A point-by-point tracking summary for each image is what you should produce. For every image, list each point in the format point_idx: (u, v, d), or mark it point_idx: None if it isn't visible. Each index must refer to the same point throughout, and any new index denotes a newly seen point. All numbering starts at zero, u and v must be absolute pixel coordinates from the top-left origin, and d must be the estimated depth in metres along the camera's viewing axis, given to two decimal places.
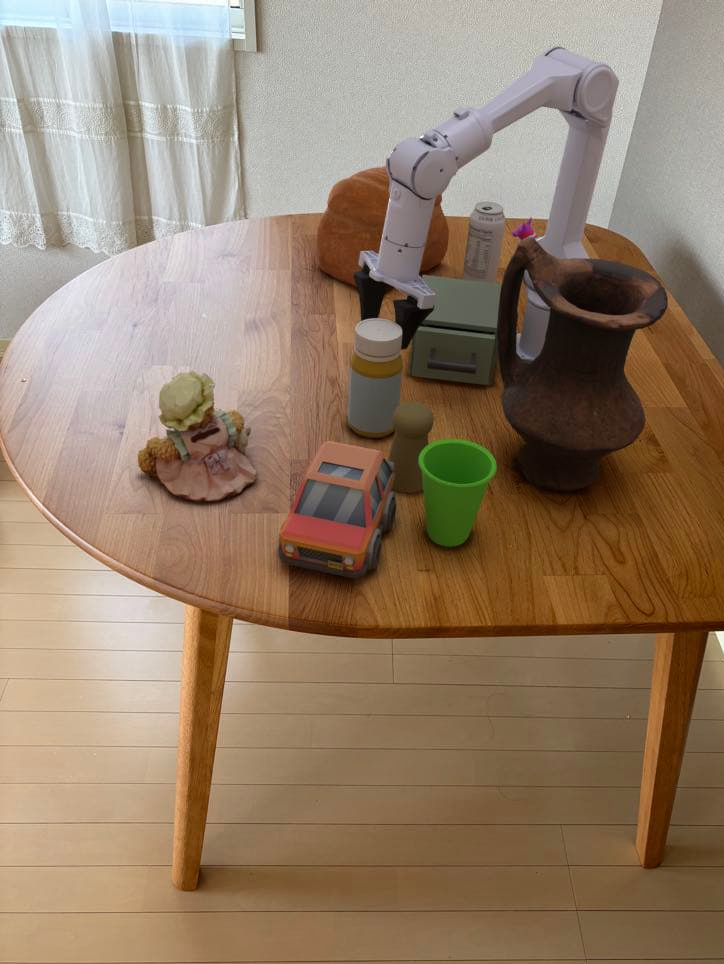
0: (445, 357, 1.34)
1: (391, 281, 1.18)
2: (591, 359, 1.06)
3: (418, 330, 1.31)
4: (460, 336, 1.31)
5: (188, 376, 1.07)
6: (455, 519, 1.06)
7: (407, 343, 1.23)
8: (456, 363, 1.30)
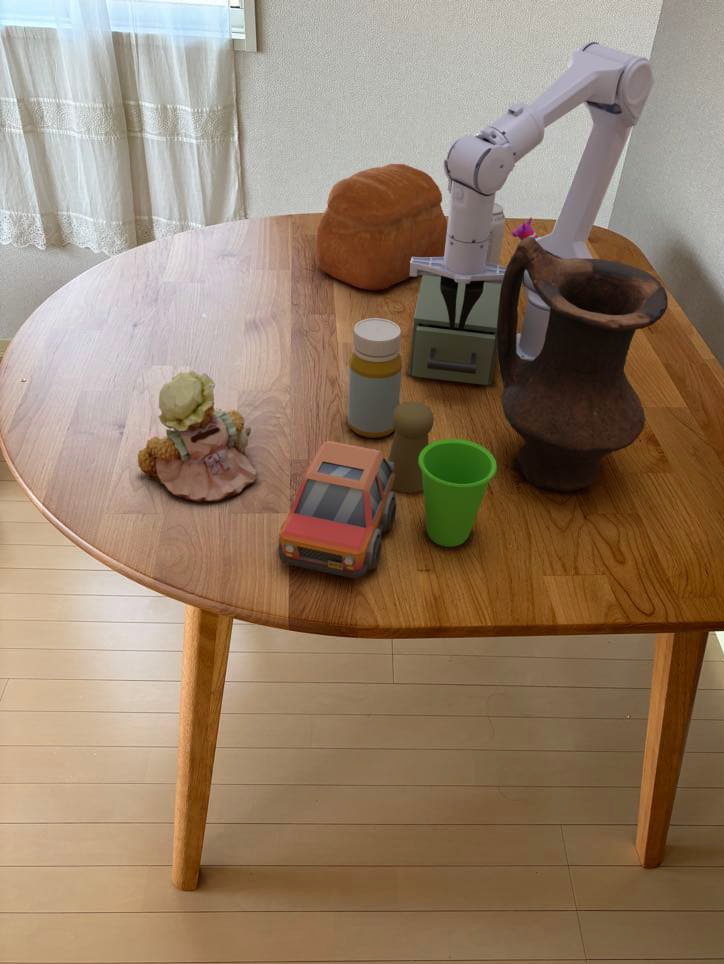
0: (445, 357, 1.34)
1: (478, 277, 1.22)
2: (591, 359, 1.06)
3: (418, 330, 1.31)
4: (460, 336, 1.31)
5: (188, 376, 1.07)
6: (455, 519, 1.06)
7: None
8: (456, 363, 1.30)
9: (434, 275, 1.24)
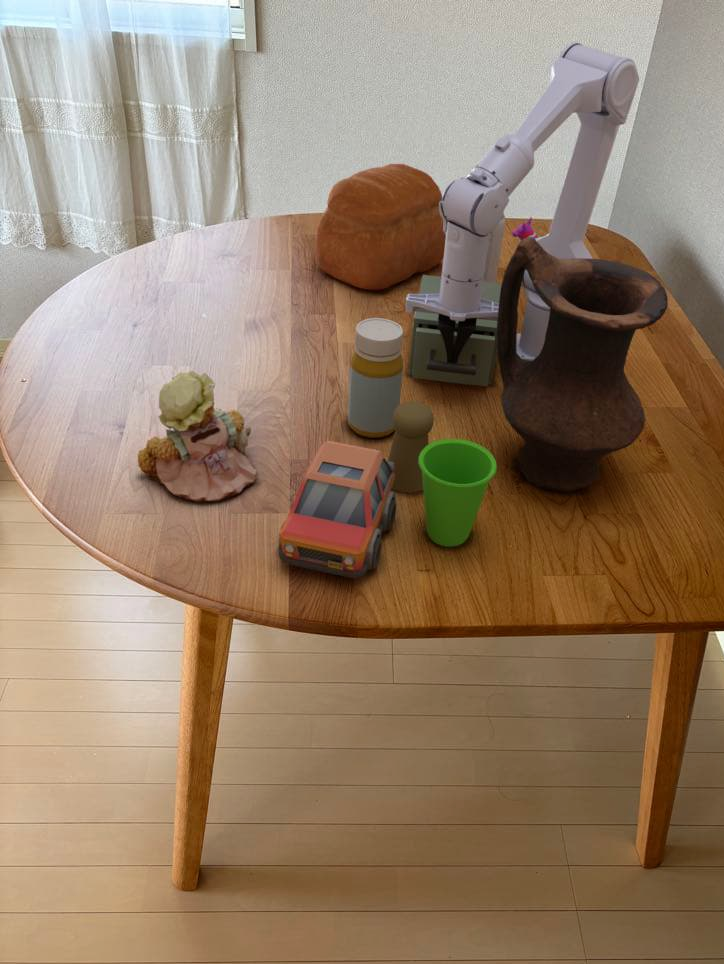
0: (445, 358, 1.34)
1: (473, 314, 1.23)
2: (591, 359, 1.06)
3: (418, 331, 1.31)
4: None
5: (188, 376, 1.07)
6: (455, 519, 1.06)
7: None
8: (456, 364, 1.29)
9: (430, 312, 1.26)
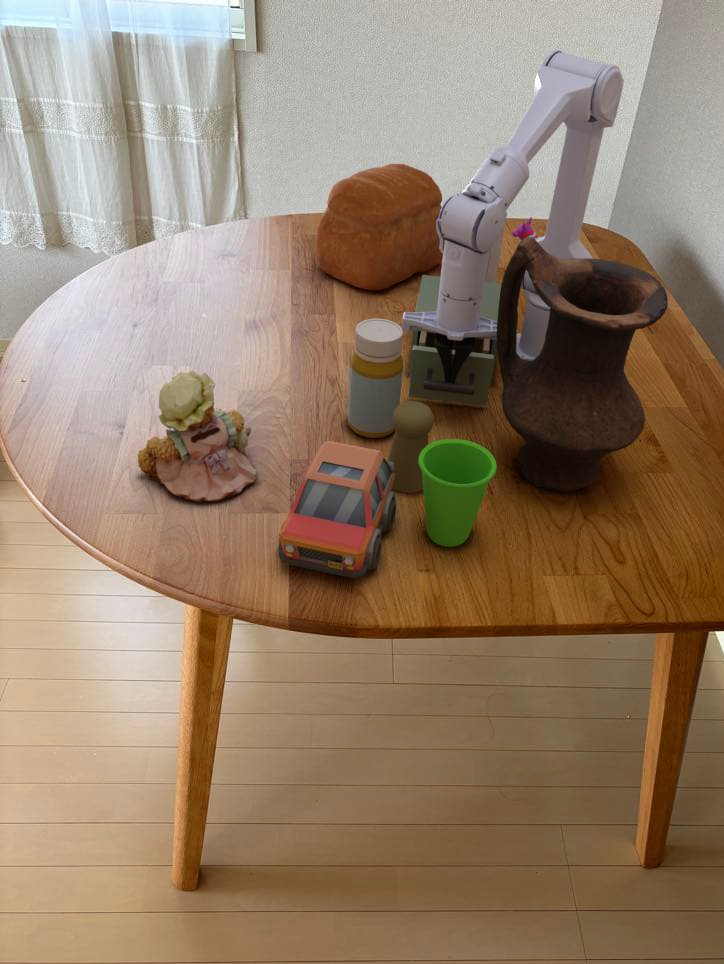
0: (442, 377, 1.30)
1: (472, 333, 1.19)
2: (591, 359, 1.06)
3: (414, 350, 1.27)
4: None
5: (188, 376, 1.07)
6: (455, 519, 1.06)
7: None
8: (454, 384, 1.25)
9: (427, 330, 1.22)
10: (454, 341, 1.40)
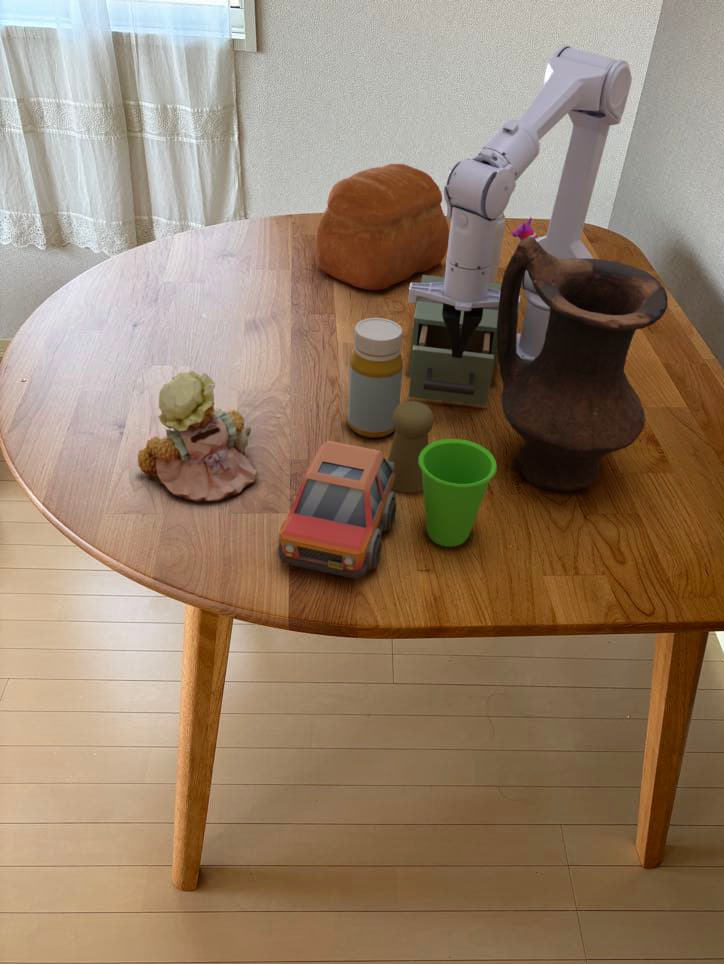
0: (442, 377, 1.30)
1: (480, 304, 1.17)
2: (591, 359, 1.06)
3: (414, 350, 1.27)
4: None
5: (188, 376, 1.07)
6: (455, 519, 1.06)
7: None
8: (454, 384, 1.25)
9: (434, 301, 1.20)
10: None
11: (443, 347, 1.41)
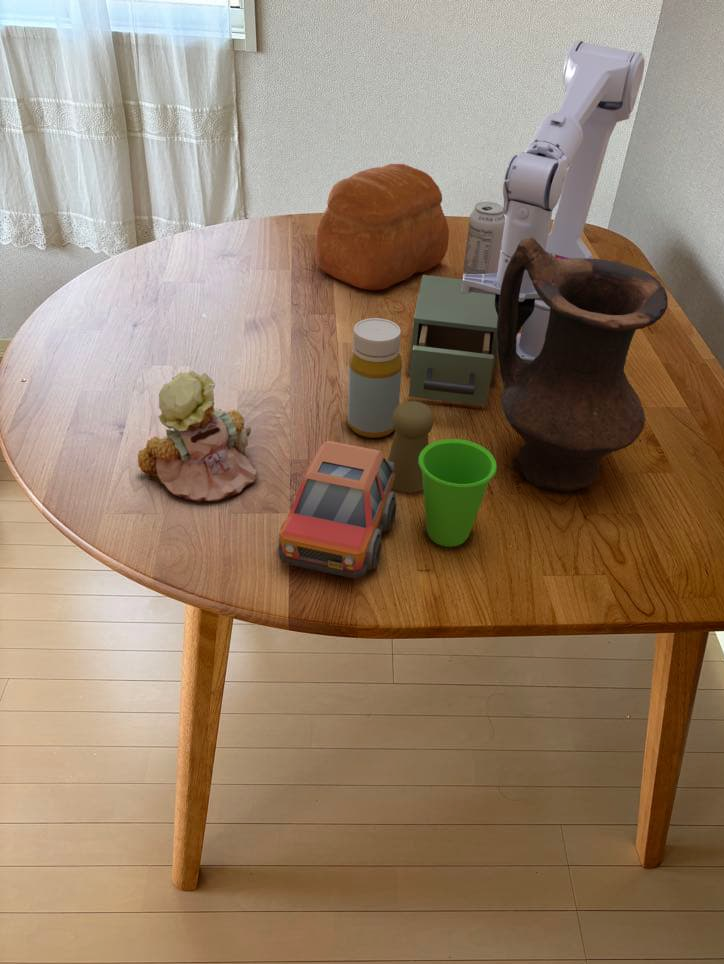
0: (442, 377, 1.30)
1: (533, 295, 1.19)
2: (591, 359, 1.06)
3: (414, 350, 1.27)
4: (458, 356, 1.27)
5: (188, 376, 1.07)
6: (455, 519, 1.06)
7: None
8: (454, 384, 1.25)
9: (486, 292, 1.22)
10: (454, 341, 1.40)
11: (443, 347, 1.41)
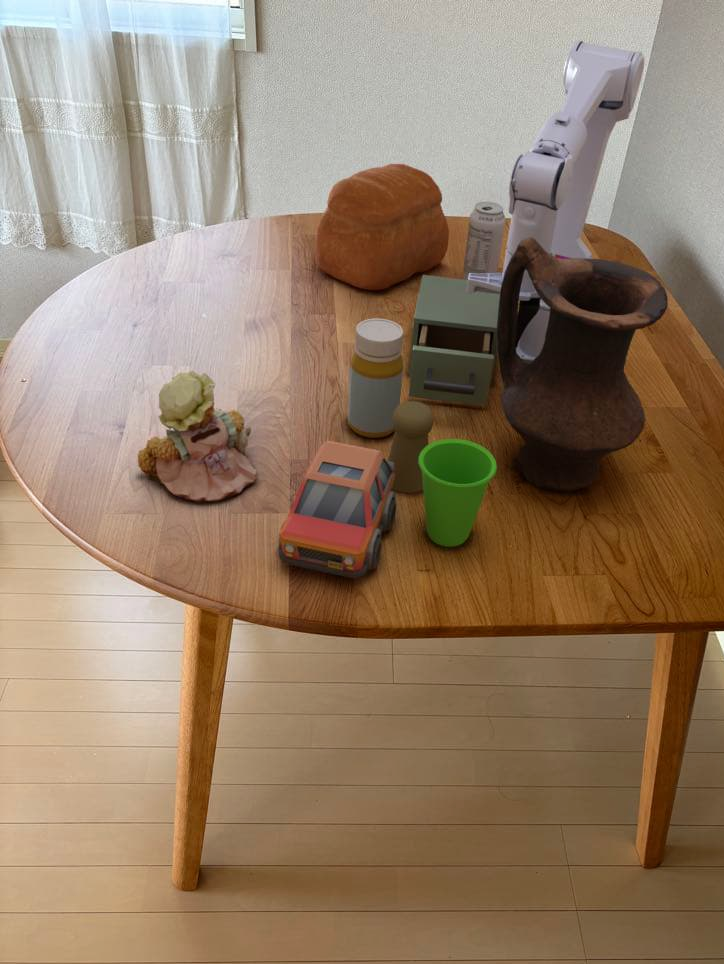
0: (442, 377, 1.30)
1: None
2: (591, 359, 1.06)
3: (414, 350, 1.27)
4: (458, 356, 1.27)
5: (188, 376, 1.07)
6: (455, 519, 1.06)
7: None
8: (454, 384, 1.25)
9: (491, 292, 1.22)
10: (454, 341, 1.40)
11: (443, 347, 1.41)
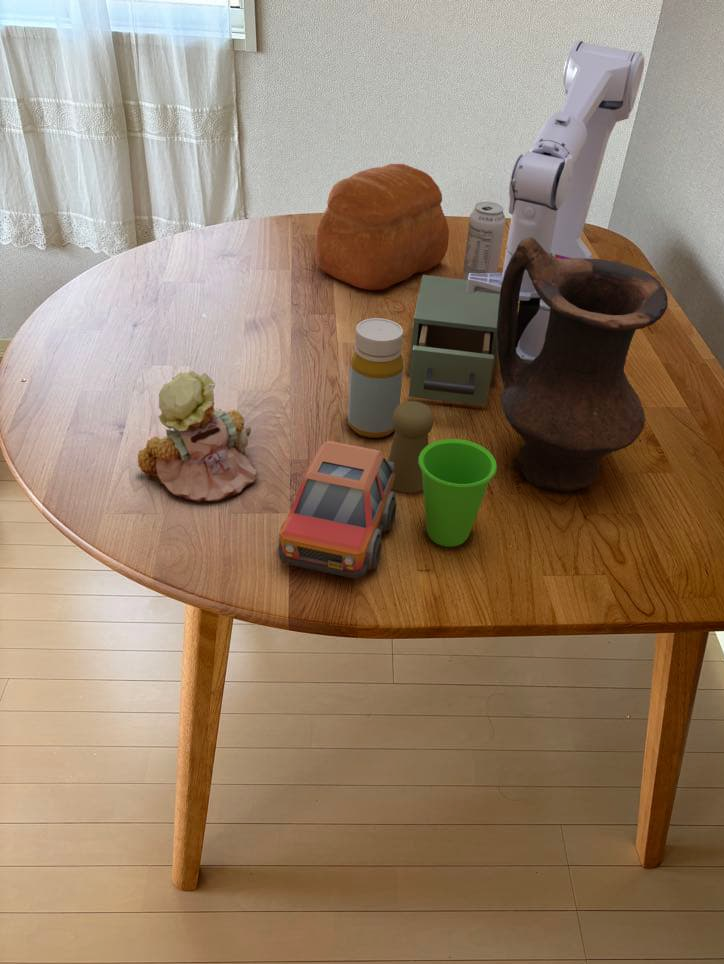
0: (442, 377, 1.30)
1: None
2: (591, 359, 1.06)
3: (414, 350, 1.27)
4: (458, 356, 1.27)
5: (188, 376, 1.07)
6: (455, 519, 1.06)
7: None
8: (454, 384, 1.25)
9: (491, 292, 1.22)
10: (454, 341, 1.40)
11: (443, 347, 1.41)
